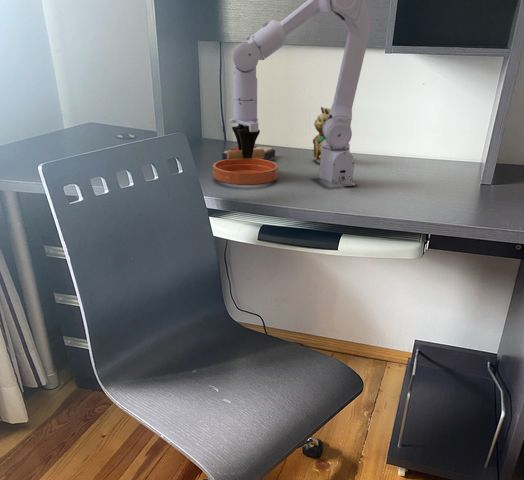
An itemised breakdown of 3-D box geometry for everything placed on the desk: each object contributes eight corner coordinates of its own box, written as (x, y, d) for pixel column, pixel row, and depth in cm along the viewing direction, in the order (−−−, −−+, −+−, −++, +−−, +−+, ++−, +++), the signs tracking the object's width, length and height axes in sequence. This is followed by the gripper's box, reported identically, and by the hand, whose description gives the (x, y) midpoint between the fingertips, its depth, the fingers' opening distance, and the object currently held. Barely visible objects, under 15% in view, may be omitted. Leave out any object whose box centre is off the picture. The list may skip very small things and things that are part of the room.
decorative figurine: (308, 158, 165) (311, 105, 157) (333, 157, 167) (337, 104, 159) (319, 165, 157) (323, 110, 149) (345, 164, 159) (350, 109, 151)
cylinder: (262, 156, 141) (262, 148, 140) (264, 158, 139) (264, 149, 138) (226, 158, 138) (226, 149, 137) (229, 160, 137) (228, 151, 136)
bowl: (286, 186, 138) (287, 170, 135) (223, 191, 133) (222, 175, 131) (265, 171, 151) (265, 156, 149) (207, 175, 146) (206, 159, 144)
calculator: (275, 147, 162) (257, 154, 149) (275, 161, 164) (256, 170, 151) (242, 143, 165) (221, 150, 153) (241, 158, 167) (221, 166, 155)
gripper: (222, 96, 136) (223, 151, 143) (238, 103, 125) (238, 164, 132) (248, 95, 138) (248, 150, 145) (267, 102, 127) (266, 162, 134)
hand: (245, 156), depth 139 cm, fingers closed on cylinder, 2 cm apart
